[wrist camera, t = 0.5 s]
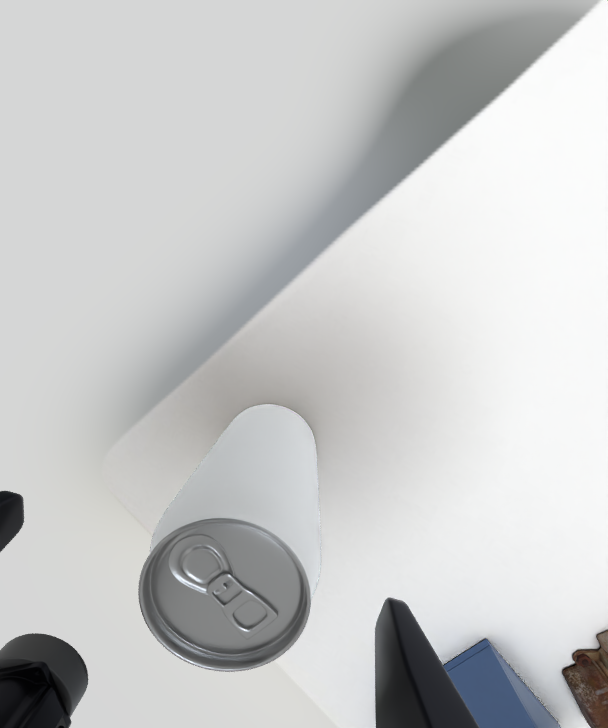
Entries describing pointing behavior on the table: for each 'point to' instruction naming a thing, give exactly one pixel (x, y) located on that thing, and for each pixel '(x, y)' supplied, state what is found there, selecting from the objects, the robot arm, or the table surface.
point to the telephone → (591, 682)
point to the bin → (496, 691)
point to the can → (239, 547)
